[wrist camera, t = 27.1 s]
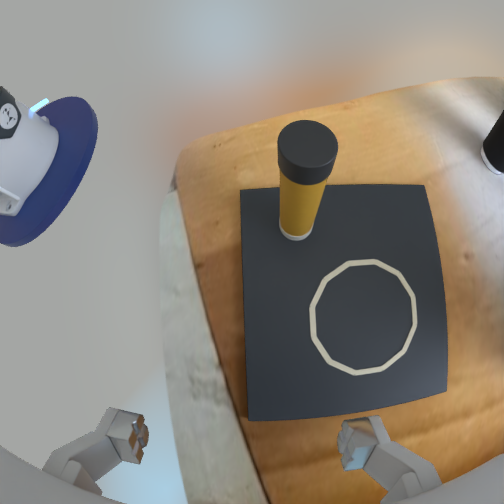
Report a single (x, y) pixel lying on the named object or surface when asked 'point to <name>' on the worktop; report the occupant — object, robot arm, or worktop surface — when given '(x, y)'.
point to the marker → (303, 174)
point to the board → (342, 304)
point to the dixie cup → (495, 147)
